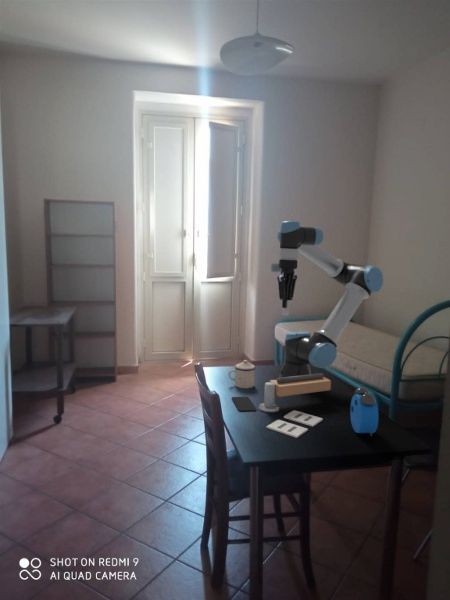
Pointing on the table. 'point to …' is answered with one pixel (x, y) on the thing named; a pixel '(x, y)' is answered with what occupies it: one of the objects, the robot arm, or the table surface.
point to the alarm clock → (364, 412)
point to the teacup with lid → (243, 375)
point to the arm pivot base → (273, 409)
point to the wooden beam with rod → (294, 386)
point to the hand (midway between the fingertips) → (285, 315)
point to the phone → (243, 404)
